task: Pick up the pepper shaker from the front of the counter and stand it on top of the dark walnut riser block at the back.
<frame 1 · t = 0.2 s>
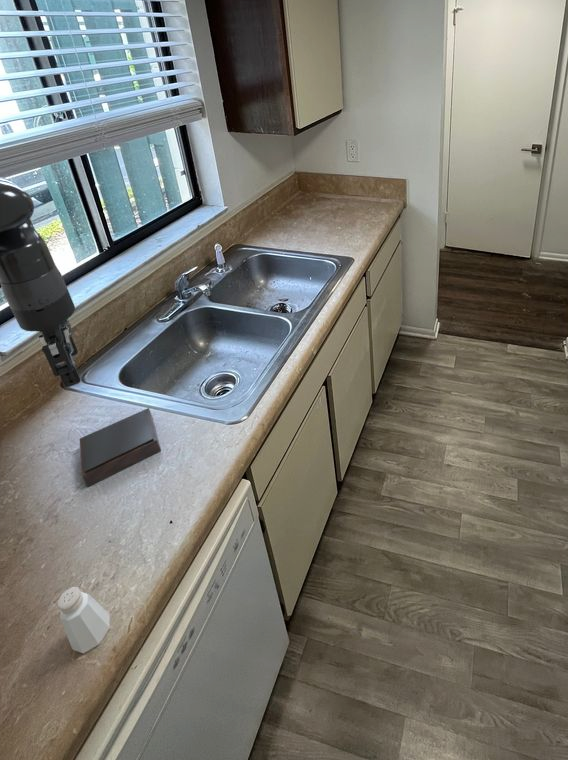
hand: (72, 369, 78), 32 cm above the worktop, tool pointing down, fingers open, 8 cm apart
riser: (122, 450, 99), on the worktop
pepper shaker: (92, 632, 70), on the worktop
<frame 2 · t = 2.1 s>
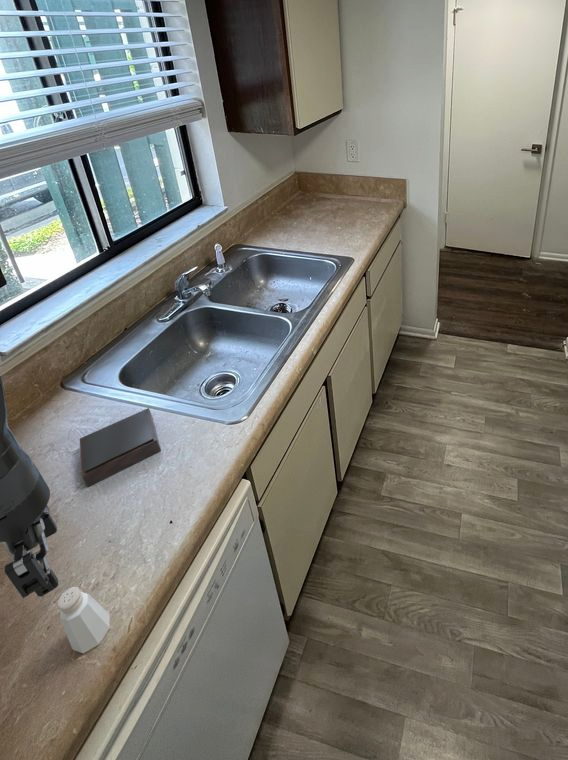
hand: (49, 560, 62), 20 cm above the worktop, tool pointing down, fingers open, 8 cm apart
nothing on the worktop moved.
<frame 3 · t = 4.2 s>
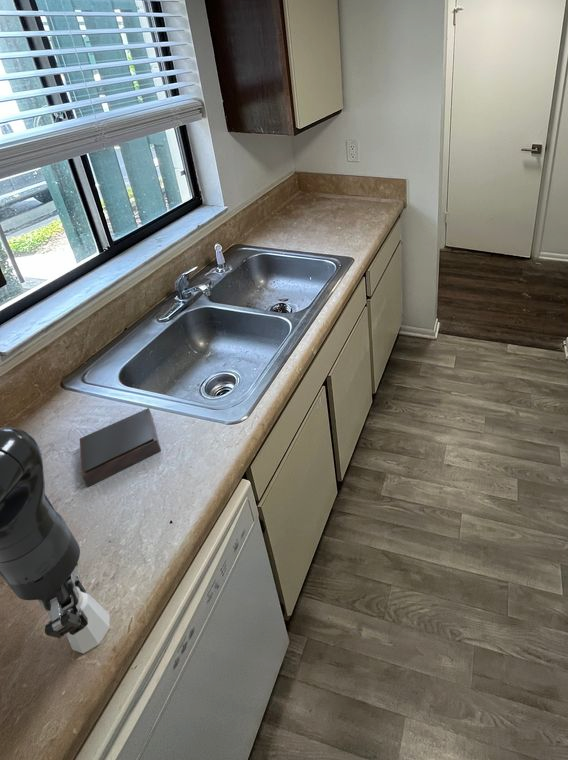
hand: (79, 612, 67), 6 cm above the worktop, tool pointing down, fingers closed on pepper shaker, 3 cm apart
pepper shaker: (92, 632, 70), on the worktop, touching gripper
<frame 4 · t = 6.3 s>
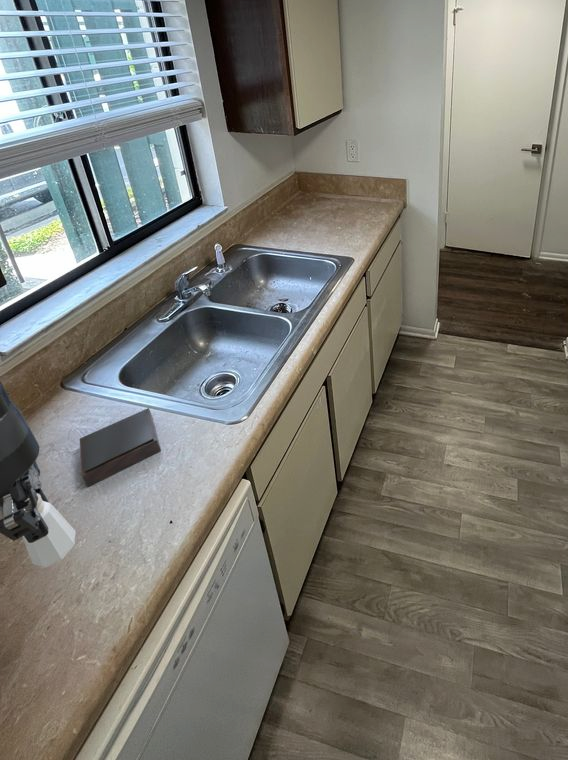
hand: (39, 523, 62), 25 cm above the worktop, tool pointing down, fingers closed on pepper shaker, 3 cm apart
pepper shaker: (55, 548, 65), point 18 cm above the worktop, touching gripper
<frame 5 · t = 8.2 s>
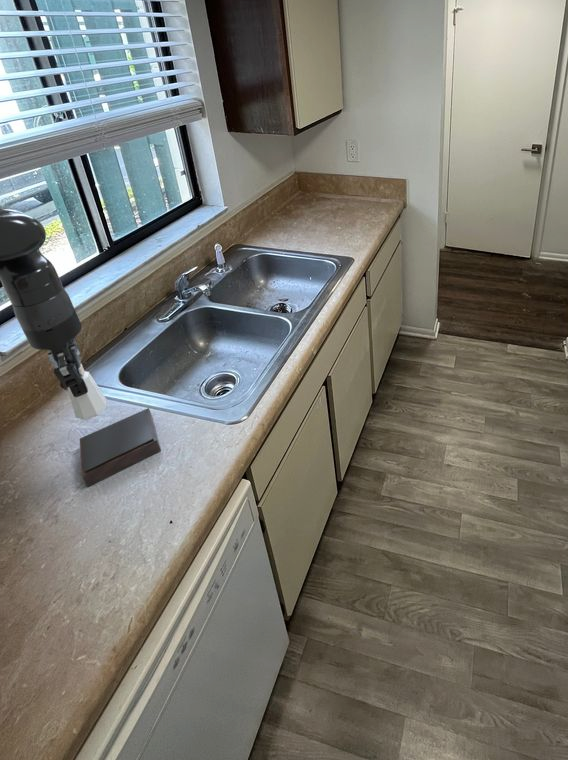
hand: (80, 386, 83), 25 cm above the worktop, tool pointing down, fingers closed on pepper shaker, 3 cm apart
pepper shaker: (92, 409, 86), point 19 cm above the worktop, touching gripper
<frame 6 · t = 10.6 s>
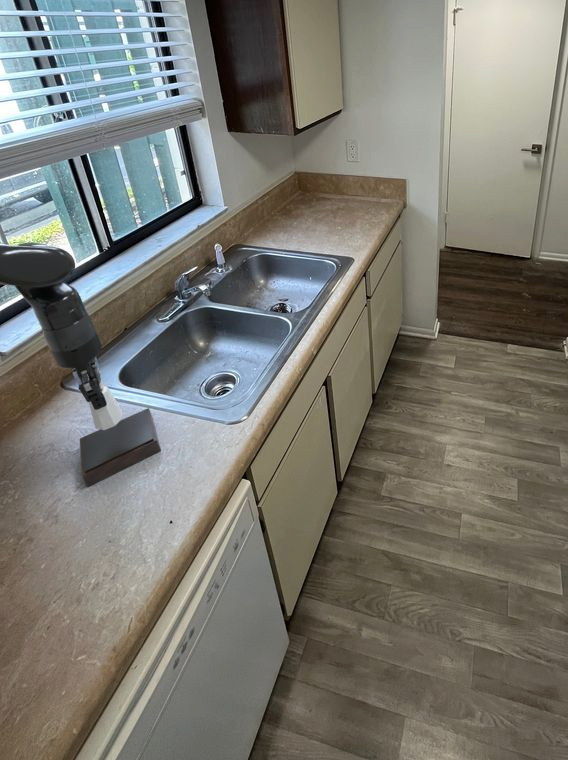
hand: (100, 399, 92), 16 cm above the worktop, tool pointing down, fingers closed on pepper shaker, 3 cm apart
pepper shaker: (109, 420, 95), point 10 cm above the worktop, touching gripper
when the fingers open (10 cm above the worktop, at t = 12.4 s): pepper shaker stays where it is, resting on riser.
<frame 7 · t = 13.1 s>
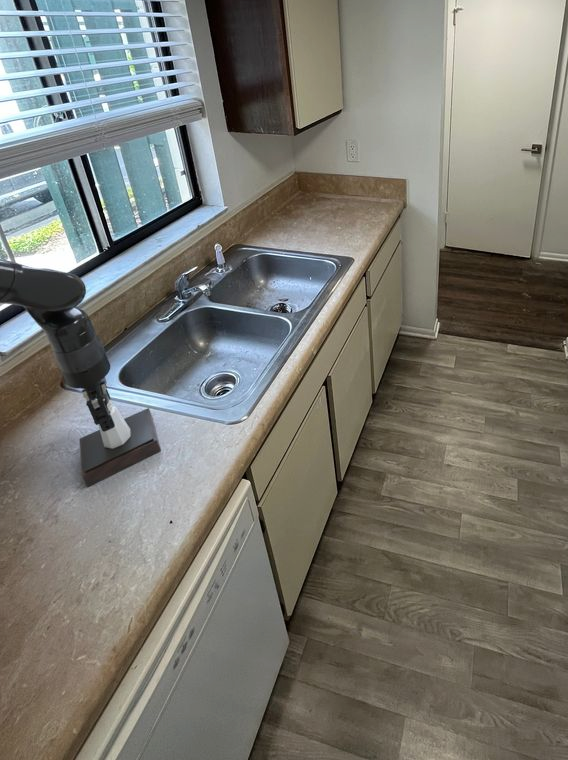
hand: (107, 414, 94), 12 cm above the worktop, tool pointing down, fingers open, 8 cm apart
pepper shaker: (118, 438, 97), point 4 cm above the worktop, touching riser
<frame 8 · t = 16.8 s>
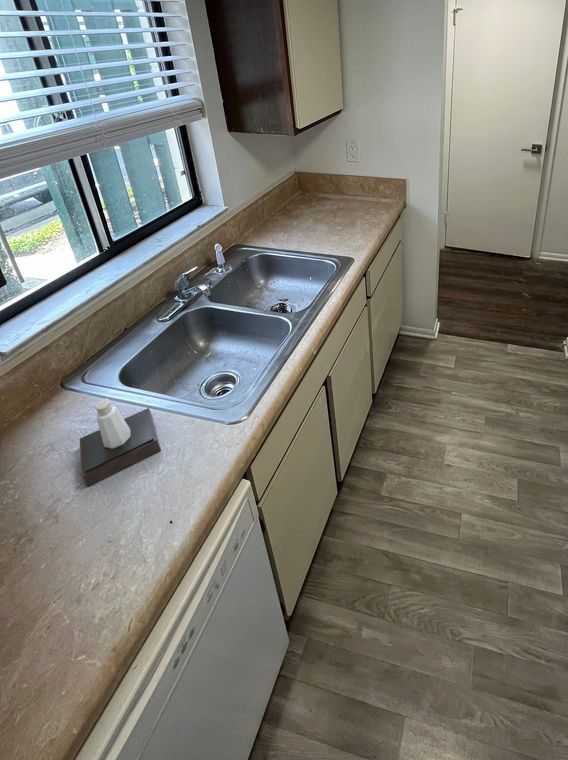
nothing on the worktop moved.
at the end: pepper shaker inside the target area on the riser (0.1 cm from its centre), point 3.8 cm above the riser's base; pepper shaker tilted 0°; the gripper is holding nothing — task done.
